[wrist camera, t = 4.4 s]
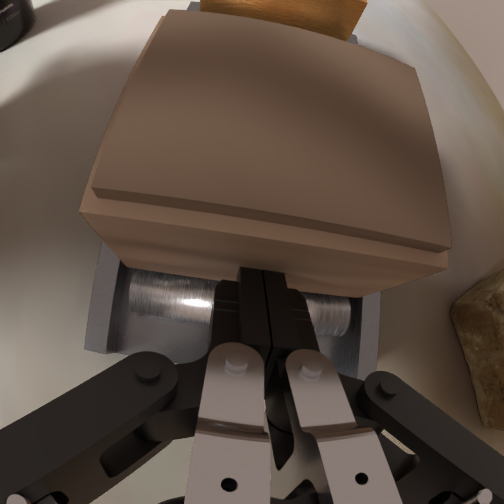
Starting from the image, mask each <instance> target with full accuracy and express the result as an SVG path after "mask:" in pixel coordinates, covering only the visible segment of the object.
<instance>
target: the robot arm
mask: <svg viewBox="0 0 504 504" xmlns="http://www.w3.org/2000/svg"><path fill="white" fill-rule="evenodd" d="M308 311H309V309H308V306H307V302H306V299H305V298H304V297H303V296H302V294H301V293H300V292H299V291H298V290H297V289H291V288H288V287H287V282H286V278H285V274H284V273H282V272H275V271H267V270H260V269H253V268H246V267H239V270H238V274H237V279H236V281H231V280H224V279H222V280H221V281H220V283H219V284H218V285H217V286H216V287H215V292H214V298H213V304H212V311H211V317H210V324H209V336H208V348H207V353H206V354H205V355H204V356H203V357H202V358H200V359H198V360H196V361H193V362H190V363H183V364H174V363H173V362H172V361H171V360H170V359H169V358H168V357H166V356H164V355H162V354H160V353H157V352H152V351H142V352H137V353H134V354H132V355H130V356H128V357H126V358H124V359H123V360H121V361H119V362H118V363H116V364H114V365H113V366H111V367H109V368H108V369H106V370H104V371H102V372H101V373H99V374H97V375H96V376H94V377H92V378H91V379H89V380H87V381H85V382H84V383H82V384H80V385H78V386H77V387H75V388H73V389H72V390H70V391H68V392H66V393H65V394H63V395H61V396H59V397H58V398H56V399H54V400H52V401H51V402H49V403H47V404H45V405H44V406H42V407H40V408H38V409H37V410H35V411H33V412H31V413H29V414H28V415H26V416H24V417H22V418H21V419H19V420H17V421H15V422H13V423H12V424H10V425H8V426H6V427H4V428H2V429H1V430H0V504H89V503H91V502H92V501H94V500H95V499H97V498H98V497H99V496H101V495H102V494H104V493H105V492H107V491H108V490H109V489H111V488H112V487H114V486H115V485H116V484H118V483H119V482H121V481H122V480H123V479H125V478H126V477H127V476H129V475H130V474H131V473H133V472H134V471H135V470H137V469H138V468H139V467H141V466H142V465H143V464H145V463H146V462H147V461H148V460H150V459H151V458H152V457H154V456H155V455H156V454H157V453H159V452H160V451H161V450H162V449H164V448H165V447H166V446H167V445H169V444H170V443H171V442H172V441H173V440H175V439H181V438H187V437H193V436H195V437H194V443H193V449H192V455H191V462H190V468H189V474H188V481H187V487H186V494H185V496H182V497H177V498H173V499H169V500H166V501H163V502H161V503H159V504H504V457H503V456H502V455H501V454H499V453H498V452H497V451H495V450H494V449H493V448H491V447H490V446H489V445H487V444H486V443H485V442H483V441H482V440H480V439H479V438H478V437H476V436H475V435H474V434H472V433H471V432H470V431H468V430H467V429H466V428H464V427H463V426H462V425H460V424H459V423H458V422H456V421H455V420H454V419H452V418H451V417H450V416H448V415H447V414H446V413H444V412H443V411H442V410H440V409H439V408H438V407H436V406H435V405H434V404H433V403H431V402H430V401H429V400H427V399H426V398H425V397H423V396H422V395H421V394H419V393H418V392H417V391H415V390H414V389H413V388H411V387H410V386H409V385H407V384H406V383H405V382H403V381H402V380H401V379H400V378H398V377H397V376H395V375H393V374H391V373H389V372H385V371H375V372H372V373H370V374H369V375H368V376H367V377H366V379H365V380H364V381H363V380H360V379H356V378H353V377H349V376H346V375H343V374H340V373H338V372H337V371H336V368H335V366H334V364H333V363H332V361H331V360H330V359H329V358H328V357H327V356H325V355H324V354H322V353H320V349H319V345H318V342H317V338H316V334H315V331H314V327H313V324H312V321H311V316H310V313H309V312H308ZM264 399H265V403H266V409H265V412H264ZM384 429H385V430H386V431H387V432H389V433H390V434H391V435H392V436H394V437H395V438H396V439H398V440H399V441H400V442H401V443H403V444H404V445H405V446H407V447H408V448H409V449H410V450H412V451H413V452H414V453H416V454H413V455H412V454H408V453H406V452H404V451H403V450H402V449H400V448H399V447H398V446H397V445H395V444H394V443H393V442H392V441H390V440H389V439H388V438H386V437H385V436H384V435H383V434H381V432H382V431H383V430H384ZM270 471H271V480H270Z"/></svg>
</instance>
